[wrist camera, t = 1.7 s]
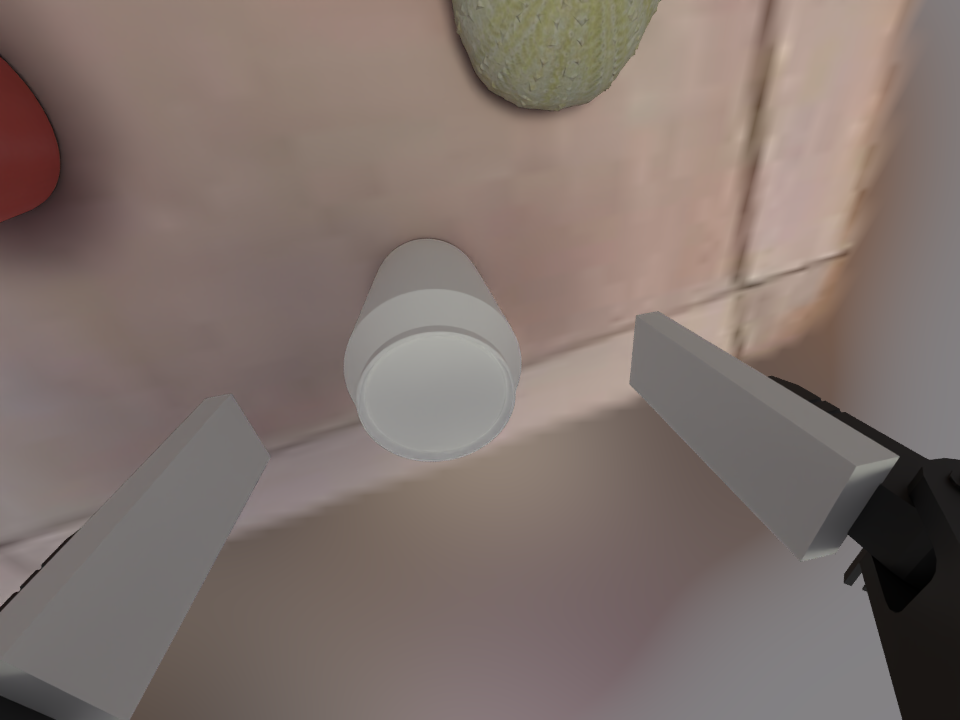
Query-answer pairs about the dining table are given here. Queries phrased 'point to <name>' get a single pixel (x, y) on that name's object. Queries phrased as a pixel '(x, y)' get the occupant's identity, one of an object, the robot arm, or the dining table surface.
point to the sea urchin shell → (550, 46)
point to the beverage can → (432, 356)
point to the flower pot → (24, 148)
